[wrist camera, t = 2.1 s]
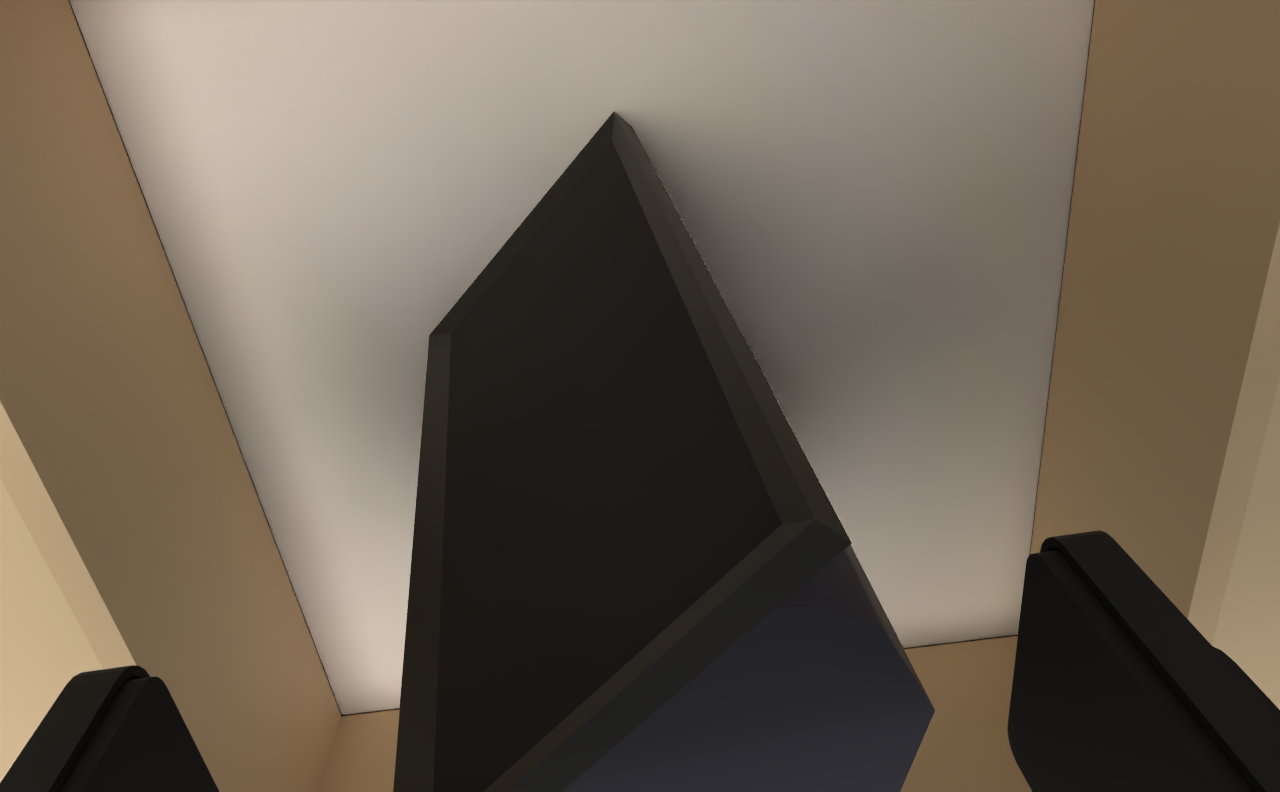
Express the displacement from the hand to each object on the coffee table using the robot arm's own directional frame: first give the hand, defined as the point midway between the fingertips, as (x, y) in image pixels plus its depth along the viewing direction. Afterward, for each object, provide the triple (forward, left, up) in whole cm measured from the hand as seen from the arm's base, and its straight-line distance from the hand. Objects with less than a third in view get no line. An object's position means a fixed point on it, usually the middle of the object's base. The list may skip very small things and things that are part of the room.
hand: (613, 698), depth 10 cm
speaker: (-1, 0, -8) cm, 8 cm away
